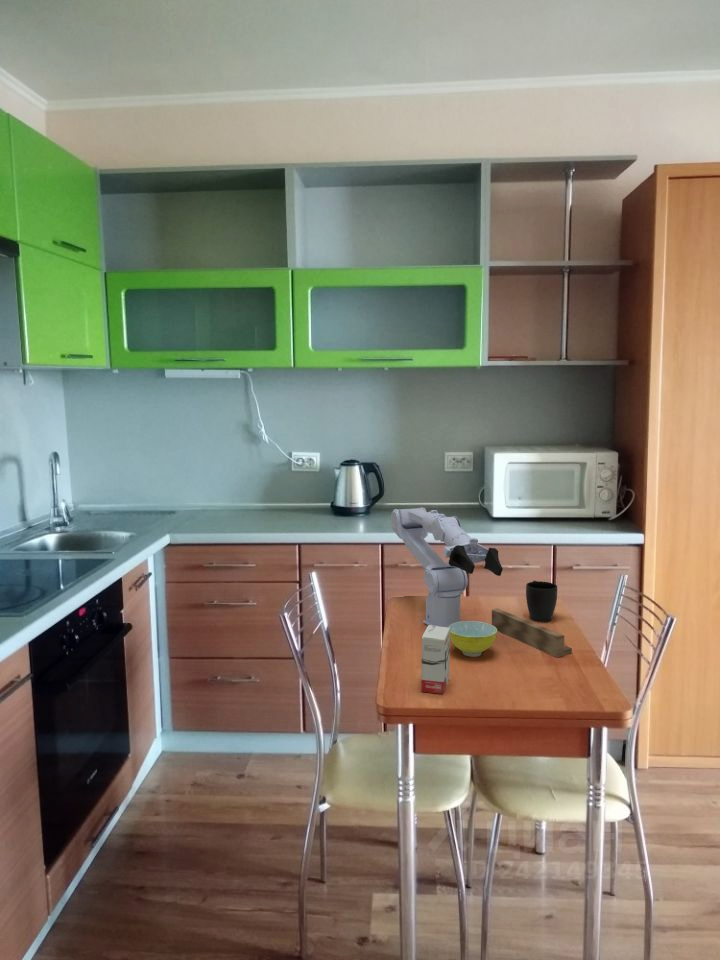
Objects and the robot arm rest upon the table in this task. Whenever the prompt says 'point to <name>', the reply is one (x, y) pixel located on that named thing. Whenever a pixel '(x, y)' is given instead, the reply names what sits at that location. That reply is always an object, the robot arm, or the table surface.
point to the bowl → (472, 636)
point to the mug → (541, 600)
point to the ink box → (435, 659)
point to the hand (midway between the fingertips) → (486, 571)
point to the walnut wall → (530, 633)
